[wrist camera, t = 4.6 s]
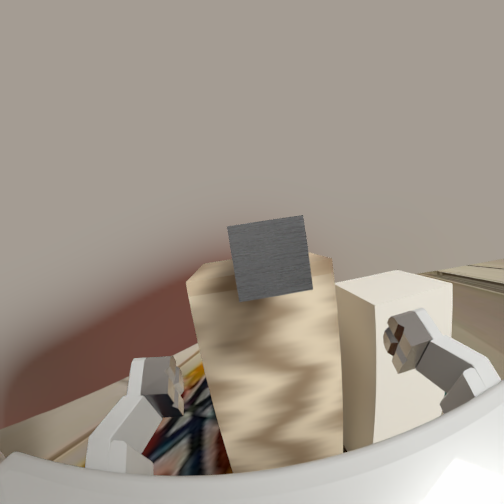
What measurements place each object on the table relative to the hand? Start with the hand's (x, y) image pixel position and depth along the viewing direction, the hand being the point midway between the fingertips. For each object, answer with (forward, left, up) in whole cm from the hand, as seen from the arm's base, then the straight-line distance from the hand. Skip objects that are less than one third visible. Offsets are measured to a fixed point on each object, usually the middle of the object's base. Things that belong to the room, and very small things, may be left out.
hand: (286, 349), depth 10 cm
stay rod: (0, +12, +2) cm, 12 cm away
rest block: (+12, +15, -24) cm, 31 cm away
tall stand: (0, +16, -24) cm, 29 cm away
